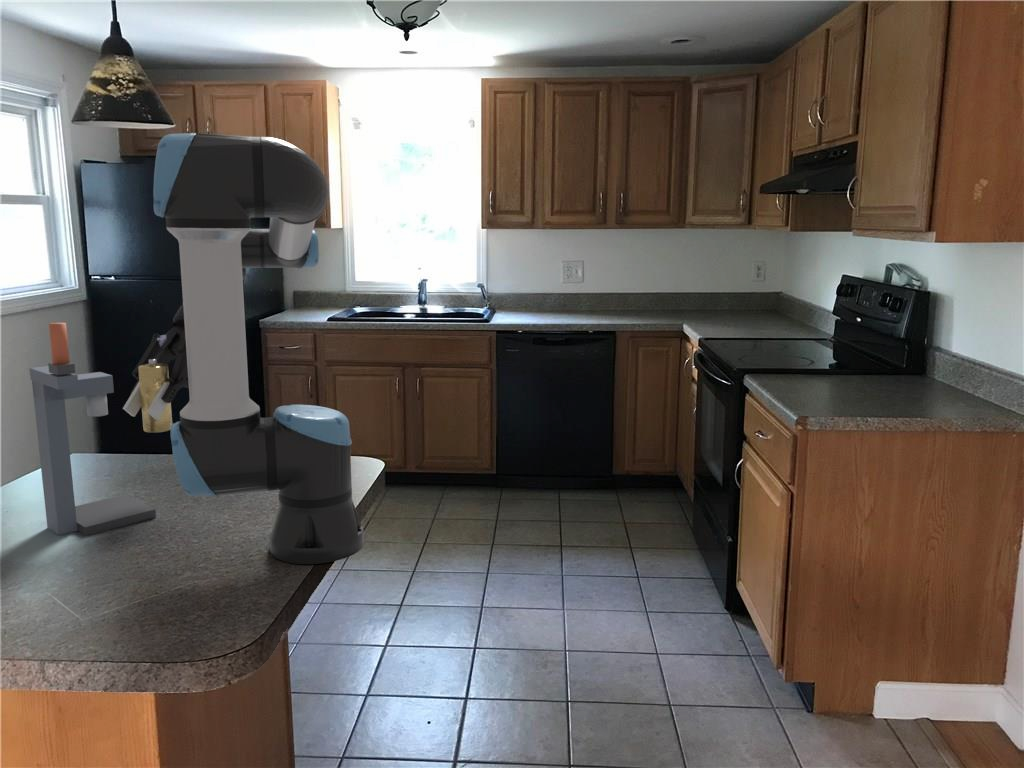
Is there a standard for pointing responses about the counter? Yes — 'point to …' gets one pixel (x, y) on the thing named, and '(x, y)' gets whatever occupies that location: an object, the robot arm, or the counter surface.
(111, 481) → the counter surface
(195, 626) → the counter surface
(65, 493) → the press
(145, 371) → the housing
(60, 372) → the lever
